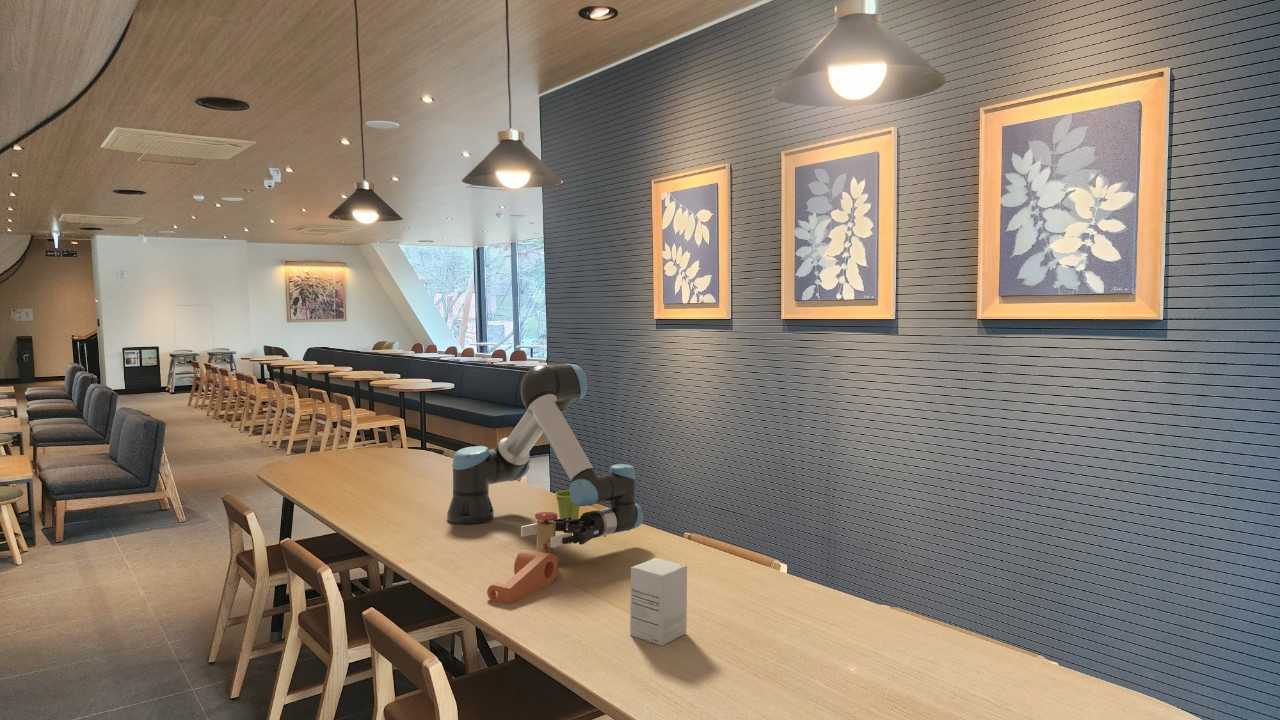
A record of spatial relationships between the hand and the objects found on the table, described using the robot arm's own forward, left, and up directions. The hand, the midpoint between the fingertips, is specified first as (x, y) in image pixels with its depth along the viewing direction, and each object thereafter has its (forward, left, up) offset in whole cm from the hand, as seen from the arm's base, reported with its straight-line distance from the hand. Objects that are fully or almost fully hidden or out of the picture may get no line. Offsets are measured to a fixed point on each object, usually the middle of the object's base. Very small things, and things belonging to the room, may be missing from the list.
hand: (535, 536), depth 209 cm
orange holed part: (+11, -12, -9) cm, 18 cm away
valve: (0, +3, -8) cm, 9 cm away
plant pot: (-35, +38, -9) cm, 53 cm away
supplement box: (+53, -6, -9) cm, 54 cm away
